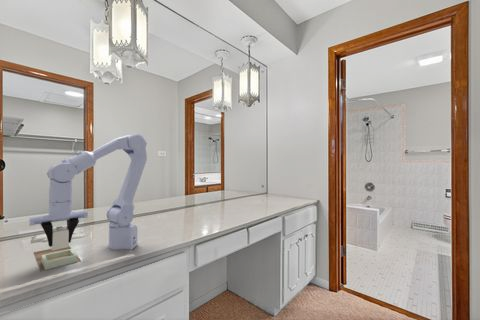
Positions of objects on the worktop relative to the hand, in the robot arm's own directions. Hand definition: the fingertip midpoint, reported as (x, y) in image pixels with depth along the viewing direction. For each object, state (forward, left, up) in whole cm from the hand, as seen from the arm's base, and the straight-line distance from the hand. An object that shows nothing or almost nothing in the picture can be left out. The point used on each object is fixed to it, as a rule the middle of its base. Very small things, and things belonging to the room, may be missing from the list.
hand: (59, 243), depth 73 cm
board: (+4, -4, -7) cm, 9 cm away
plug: (0, 0, -1) cm, 1 cm away
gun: (+17, -23, -7) cm, 29 cm away
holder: (0, 0, -7) cm, 7 cm away
